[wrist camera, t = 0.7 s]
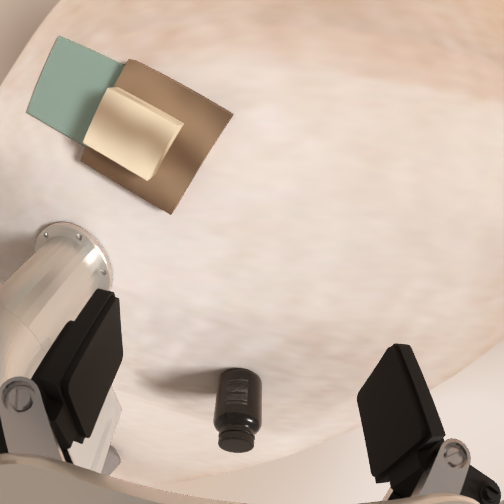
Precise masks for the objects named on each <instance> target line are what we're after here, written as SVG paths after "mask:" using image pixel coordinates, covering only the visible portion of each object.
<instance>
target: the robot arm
mask: <svg viewBox="0 0 504 504" xmlns="http://www.w3.org/2000/svg"><path fill="white" fill-rule="evenodd" d="M111 285H112V268H111V264H110V261H109V259H108V256H107V254H106V252H105V251H104V249H103V247H102V246H101V245H100V243H99V242H98V241H97V240H96V239H95V238H94V237H93V236H92V235H91V234H90V233H89V232H87V231H86V230H84V229H83V228H81V227H79V226H77V225H75V224H71V223H65V222H59V223H54V224H52V225H50V226H48V227H46V228H45V229H44V230H43V231H42V232H41V233H40V234H39V235H38V237H37V240H36V242H35V247H34V254H33V255H32V256H31V257H30V258H29V259H28V260H27V261H25V262H24V263H23V264H22V265H21V266H20V267H19V268H18V269H17V270H16V271H15V272H14V273H13V274H12V275H11V276H10V277H9V278H8V279H7V280H6V281H5V282H4V283H3V284H2V285H1V286H0V504H246V503H236V502H227V501H219V500H212V499H205V498H199V497H192V496H188V495H182V494H177V493H172V492H168V491H163V490H159V489H155V488H151V487H147V486H143V485H139V484H135V483H131V482H128V481H124V480H121V479H117V478H114V477H111V476H107V475H104V474H101V473H98V472H95V471H92V470H89V469H86V468H83V467H80V466H77V465H75V463H74V461H73V458H72V456H71V454H70V451H69V448H71V446H72V444H73V441H75V442H78V443H80V444H83V442H84V439H85V438H90V436H91V434H92V432H93V429H94V427H95V424H96V422H97V419H98V417H99V414H100V412H101V409H102V407H103V404H104V402H105V399H106V397H107V394H108V392H109V390H110V387H111V385H112V383H113V380H114V378H115V376H116V373H117V371H118V369H119V366H120V364H121V361H122V358H123V346H122V335H121V321H120V304H119V298H117V297H115V294H114V292H111V291H109V290H110V288H111ZM357 403H358V407H359V412H360V417H361V422H362V427H363V432H364V436H365V441H366V447H367V452H368V458H369V464H370V469H371V474H372V476H374V477H375V479H376V483H384V482H389V481H390V485H391V487H390V489H389V490H388V492H387V494H386V495H385V497H384V498H383V500H382V501H379V502H370V503H361V504H504V501H501V502H500V499H501V492H500V489H499V487H498V485H497V484H496V483H495V482H494V481H493V480H492V479H490V478H489V477H487V476H486V475H484V474H483V473H481V472H480V471H478V470H477V469H475V468H474V467H472V466H471V465H470V459H471V457H470V452H469V450H468V448H467V447H466V445H465V444H463V443H462V442H461V441H459V440H457V439H452V438H451V439H448V440H446V441H444V439H443V437H444V436H445V432H444V429H443V426H442V423H441V421H440V418H439V416H438V412H437V410H436V407H435V404H434V402H433V399H432V397H431V394H430V391H429V389H428V386H427V384H426V381H425V379H424V377H423V374H422V372H421V369H420V367H419V365H418V362H417V360H416V358H415V355H414V353H413V351H412V348H411V347H410V345H406V344H393V345H392V346H391V347H389V348H388V349H387V350H386V352H385V353H384V355H383V357H382V358H381V360H380V361H379V363H378V364H377V366H376V367H375V369H374V370H373V372H372V373H371V375H370V376H369V378H368V379H367V381H366V382H365V384H364V385H363V387H362V388H361V389H360V391H359V393H358V395H357Z"/></svg>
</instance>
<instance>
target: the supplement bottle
mask: <svg viewBox="0 0 504 504" xmlns="http://www.w3.org/2000/svg"><path fill="white" fill-rule="evenodd" d="M213 422H214V426H215V428H216V430H217V431H218V432H219V442H218V444H219V446H220V448H221V449H223V450H225V451H228V452H234V453H242V452H248V451H250V450H252V449H253V447H254V439H255V434H256V433H257V432H258V431H259V430H260V428H261V424H262V382H261V379H260V378H259V376H258V375H257V374H255V373H254V372H252V371H249V370H245V369H232V370H229V371H226V372H225V373H223V374H222V375H221V376H220V378H219V381H218V387H217V395H216V403H215V412H214V421H213Z"/></svg>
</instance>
